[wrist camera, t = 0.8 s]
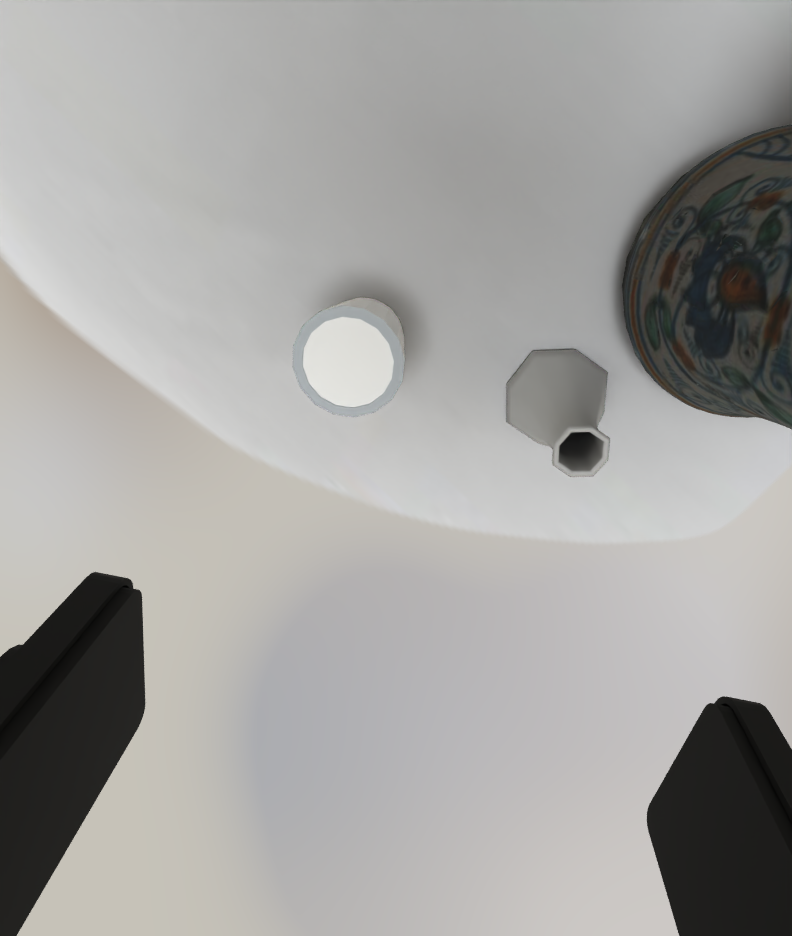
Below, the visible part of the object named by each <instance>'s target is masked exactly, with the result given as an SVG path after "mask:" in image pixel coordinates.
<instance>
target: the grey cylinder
mask: <svg viewBox="0 0 792 936" xmlns="http://www.w3.org/2000/svg"><path fill="white" fill-rule="evenodd" d="M404 362H405V352H404V334H403V330H402V327H401V323H400V320H399V319H398V317H397V316H396V315H395V313H394V312H393V311H392V309H391V308H390V307H388V306H387V305H385V304H383V303H382V302H380V301H378V300H376V299H371V298H363V297H359V298H355V299H352V300H348V301H345V302H342V303H340V304H337V305H335V306H332V307H330V308H327V309H325V310H322V311H320V312H318V313H317V314H316V315H315V316H314V317H312V318H311V319H310V320H309V321H308V322H306V323H305V324H304V325H303V326H302V328H301V330H300V332H299V335H298V337H297V339H296V341H295V343H294V345H293V369H294V372H295V375H296V378H297V380H298V383H299V386H300V388H301V389H302V390H303V391H304V393H305V394H306V395H307V396H308V397H309V398H310V399H311V401H312V402H313V403H314V404H315V405H317V406H319V407H321V408H323V409H324V410H326V411H328V412H330V413H332V414H334V415H341V416H349V417H358V416H362V415H366V414H370V413H374V412H376V411H377V410H379V409H380V408H381V407H383V406H384V405H386V404H387V403H388V402H390V401H391V400H392V398H393V397H394V395H395V393H396V392H397V390H398V388H399V386H400V385H401V383H402V379H403V371H404Z"/></svg>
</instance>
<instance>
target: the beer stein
mask: <svg viewBox="0 0 792 936" xmlns="http://www.w3.org/2000/svg"><path fill="white" fill-rule="evenodd" d="M622 287H623V301H624V314H625V320H626V327H627V330H628V333H629V336H630V339H631V342H632V345H633V348H634V351H635V354H636V355H637V357H638V359H639V360H640V362H641V363H642V365H643V367H644V368H645V370H646V371H647V372H648V374H649V375H650V376H651V377H652V378H653V380H654V381H655V382H656V383H657V384H658V385H659V386H661V387H662V388H663V389H664V390H666V391H667V392H668V393H670V394H671V395H672V396H674V397H675V398H677V399H679V400H680V401H682V402H684V403H685V404H687V405H689V406H692V407H694V408H696V409H699V410H702V411H705V412H708V413H712V414H717V415H723V416H730V417H746V418H748V417H758V418H763V419H766V420H769V421H772V422H775V423H778V424H780V425H783V426H786V427H788V428H790V429H792V125H787V126H782V127H778V128H773V129H769V130H766V131H762V132H759V133H755V134H752V135H750V136H748V137H746V138H743V139H741V140H739V141H737V142H735V143H732V144H730V145H728V146H727V147H725V148H723V149H721V150H719V151H717V152H716V153H714V154H712V155H711V156H709V157H708V158H706V159H704V160H703V161H702V162H700V163H699V164H698V165H697V166H695V167H694V168H693V169H692V170H690V171H689V172H688V173H687V174H685V175H683V176H682V177H681V178H680V179H679V180H678V181H677V182H676V184H675V185H674V186H673V187H672V188H671V189H670V190H669V192H668V193H667V194H666V195H665V196H664V197H663V198H662V199H661V201H660V202H659V203H658V204H657V205H656V206H655V207H654V209H653V210H652V211H651V212H650V213H649V214H648V215H647V216H646V218H645V219H644V220H643V223H642V225H641V227H640V230H639V232H638V234H637V236H636V239H635V241H634V243H633V246H632V248H631V250H630V253H629V255H628V257H627V261H626V267H625V273H624V279H623V285H622Z"/></svg>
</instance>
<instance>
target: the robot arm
mask: <svg viewBox="0 0 792 936" xmlns="http://www.w3.org/2000/svg"><path fill="white" fill-rule="evenodd" d="M144 709H145V682H144V650H143V617H142V594H141V592H140V590H136V589H133V583H132V581H131V580H130V579H128V578H123V577H118V576H113V575H108V574H103V573H98V572H94V573H91V574H90V575H89V576H87V577H86V578H85V579H84V580H83V582H82V583H81V584H80V585H79V586H78V587H77V588H76V589H75V590H74V591H73V592H72V593H71V594H70V595H69V596H68V597H67V599H66V600H65V601H64V602H63V603H62V604H61V605H60V606H59V607H58V608H57V609H56V610H55V611H54V613H52V614H51V616H50V617H49V618H48V619H47V620H46V621H45V622H44V623H43V624H42V625H41V626H40V627H39V628H38V629H37V630H36V632H35V633H34V634H33V635H32V636H31V637H30V638H29V639H28V640H27V641H26V642H25V643H24V644H23V645H17V646H15V647H12V648H10V649H9V650H8V651H7V652H5V653H4V654H3V655H2V656H1V657H0V936H17V934H18V932H19V930H20V929H21V927H22V925H23V924H24V922H25V920H26V918H27V917H28V915H29V913H30V912H31V910H32V908H33V907H34V905H35V903H36V901H37V900H38V898H39V896H40V895H41V893H42V891H43V889H44V888H45V886H46V884H47V883H48V881H49V879H50V877H51V876H52V874H53V872H54V871H55V869H56V867H57V866H58V864H59V862H60V860H61V859H62V857H63V855H64V854H65V852H66V850H67V848H68V847H69V845H70V843H71V842H72V840H73V838H74V836H75V835H76V833H77V831H78V830H79V828H80V826H81V824H82V823H83V821H84V819H85V818H86V816H87V814H88V813H89V811H90V809H91V807H92V806H93V804H94V802H95V801H96V799H97V797H98V795H99V794H100V792H101V790H102V789H103V787H104V785H105V784H106V782H107V780H108V778H109V777H110V775H111V773H112V771H113V770H114V768H115V766H116V765H117V763H118V761H119V760H120V758H121V756H122V754H123V753H124V751H125V749H126V747H127V746H128V744H129V743H130V741H131V739H132V737H133V736H134V734H135V732H136V730H137V729H138V727H139V724H140V722H141V720H142V717H143V714H144ZM647 826H648V830H649V834H650V837H651V841H652V845H653V848H654V851H655V855H656V858H657V861H658V865H659V868H660V871H661V875H662V878H663V882H664V885H665V889H666V892H667V896H668V899H669V902H670V906H671V909H672V912H673V916H674V919H675V922H676V926H677V930H678V933H679V936H792V749H791V748H790V746H789V744H788V743H787V741H786V739H785V737H784V736H783V734H782V732H781V731H780V729H779V727H778V725H777V724H776V722H775V720H774V719H773V717H772V715H771V714H770V712H769V711H768V710H767V708H766V707H765V706H763V705H762V704H760V703H756V702H751V701H746V700H740V699H736V698H731V697H721V698H719V699H718V700H717V701H716V702H715V703H714V704H712V703H710V704H708V705H707V706H706V707H705V708H704V710H703V711H702V713H701V715H700V717H699V718H698V720H697V722H696V724H695V725H694V727H693V729H692V731H691V732H690V734H689V736H688V738H687V739H686V741H685V743H684V745H683V746H682V748H681V750H680V752H679V754H678V755H677V757H676V759H675V760H674V762H673V764H672V766H671V768H670V770H669V771H668V773H667V775H666V777H665V778H664V780H663V782H662V783H661V785H660V787H659V789H658V791H657V792H656V794H655V796H654V797H653V799H652V801H651V803H650V805H649V807H648V811H647Z"/></svg>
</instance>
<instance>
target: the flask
mask: <svg viewBox="0 0 792 936" xmlns="http://www.w3.org/2000/svg"><path fill="white" fill-rule="evenodd" d="M607 374H608V372H606V371H605V370H603V369H602V368H601V367H599V366H598V365H596V364H595V363H594V362H592V361H591V360H589V359H588V358H587V357H585V356H584V355H582V354H581V353H580V352H578V351H577V350H575V349H571V350H547V351H532V352H531V354H530V355H529V356H528V357H527V359H526V360H525V361H524V363H523V364H522V365H521V366H520V368H519V369H518V370H517V372H516V373H515V374H514V375H513V377H512V378H511V379H510V381H509V382H508V383H507V408H506V422H507V423H509V424H510V425H512V426H513V427H515V428H516V429H518V430H519V431H521V432H522V433H524V434H525V435H527V436H528V437H530V438H531V439H533V440H534V441H536V442H537V443H539V444H542V445H546V446H550V447H551V448H552V449H553V458H552V464H553V466H555V467H556V468H558V469H559V470H561V471H562V472H564V473H565V474H567V475H568V476H570V477H590V476H594V475H595V474H596V473H597V472H598V471H599V469H600V468H601V467H602V466H603V465H604V464H605V463H606V462H607V461H608V457H609V446H610V438H609V437H608V436H606V435H605V434H603V433H602V432H600V431H599V430H598V429H597V427H598V424H599V422H600V420H601V418H602V416H603V414H604V409H605V397H606V385H607Z"/></svg>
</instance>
